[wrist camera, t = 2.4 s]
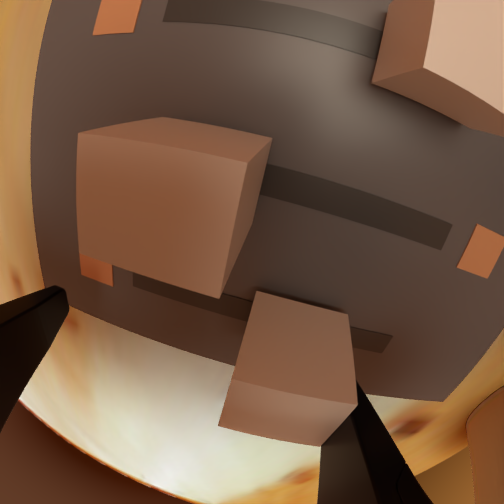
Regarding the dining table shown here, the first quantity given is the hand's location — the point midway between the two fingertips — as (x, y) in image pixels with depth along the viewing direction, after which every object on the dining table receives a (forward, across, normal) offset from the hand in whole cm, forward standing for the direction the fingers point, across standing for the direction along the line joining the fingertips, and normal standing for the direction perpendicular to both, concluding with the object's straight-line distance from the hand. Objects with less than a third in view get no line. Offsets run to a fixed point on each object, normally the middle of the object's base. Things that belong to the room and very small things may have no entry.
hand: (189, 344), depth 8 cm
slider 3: (+2, -4, -9) cm, 10 cm away
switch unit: (+5, -2, -5) cm, 7 cm away
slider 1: (+2, +1, -5) cm, 5 cm away
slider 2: (+2, -3, 0) cm, 3 cm away
